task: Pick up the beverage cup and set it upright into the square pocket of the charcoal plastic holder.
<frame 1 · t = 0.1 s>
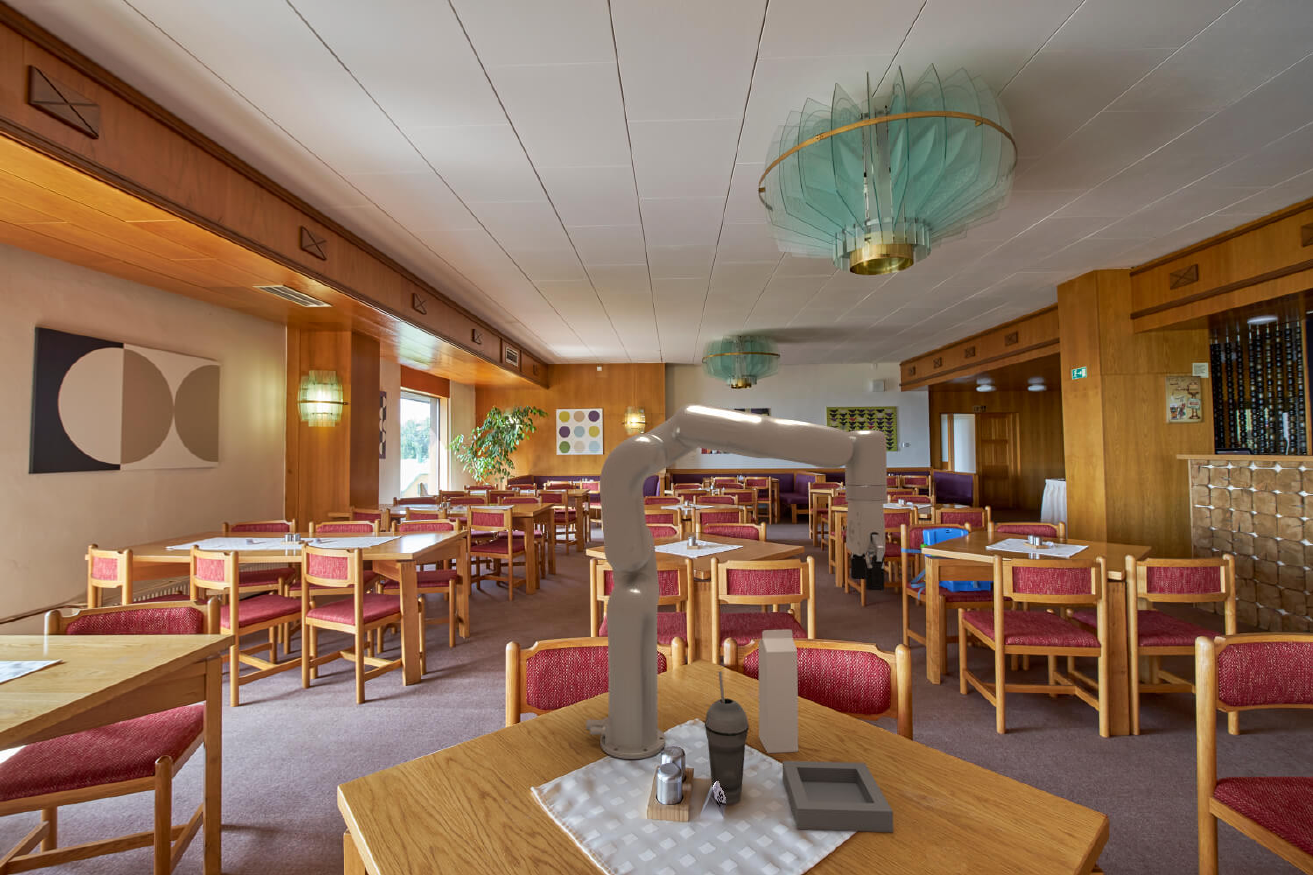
hand: (867, 584, 114), 31 cm above the table, tool pointing down, fingers open, 9 cm apart
holder: (833, 803, 96), on the table
beverage cup: (726, 797, 98), on the table
milk: (778, 746, 115), on the table
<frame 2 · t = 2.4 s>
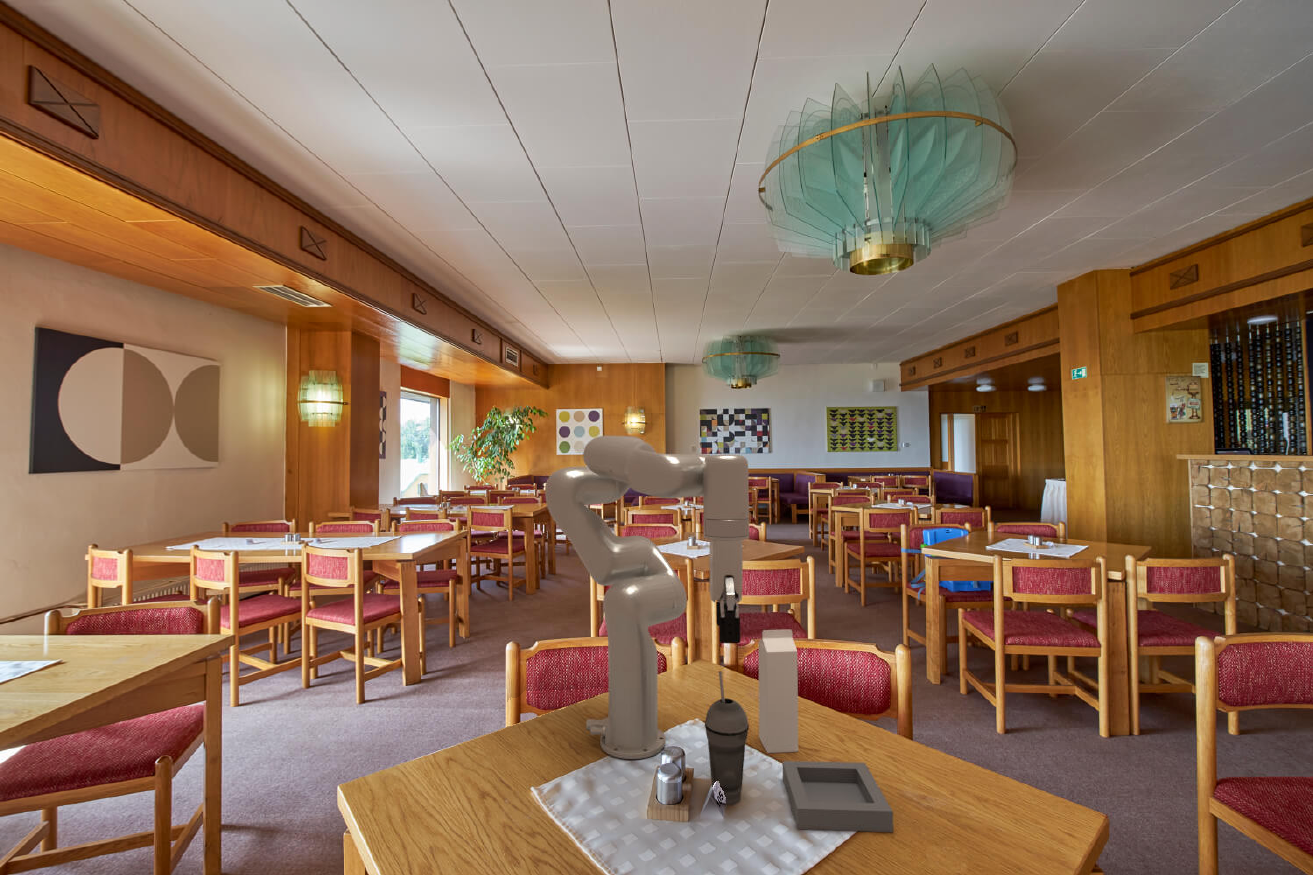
hand: (727, 633, 98), 26 cm above the table, tool pointing down, fingers open, 9 cm apart
nothing on the table moved.
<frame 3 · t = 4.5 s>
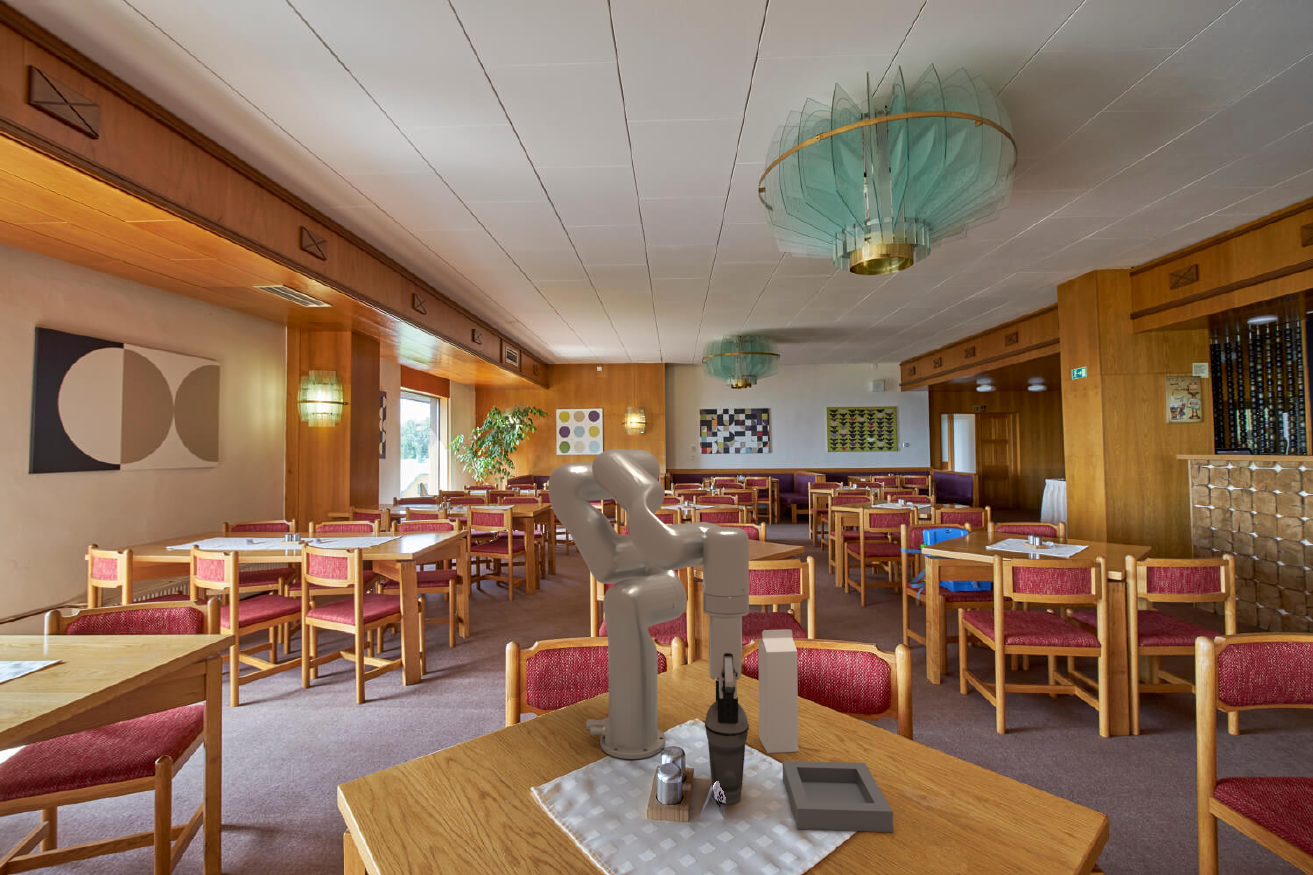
hand: (726, 712, 98), 14 cm above the table, tool pointing down, fingers closed on beverage cup, 6 cm apart
beverage cup: (726, 797, 98), on the table, touching gripper
everything else where it was.
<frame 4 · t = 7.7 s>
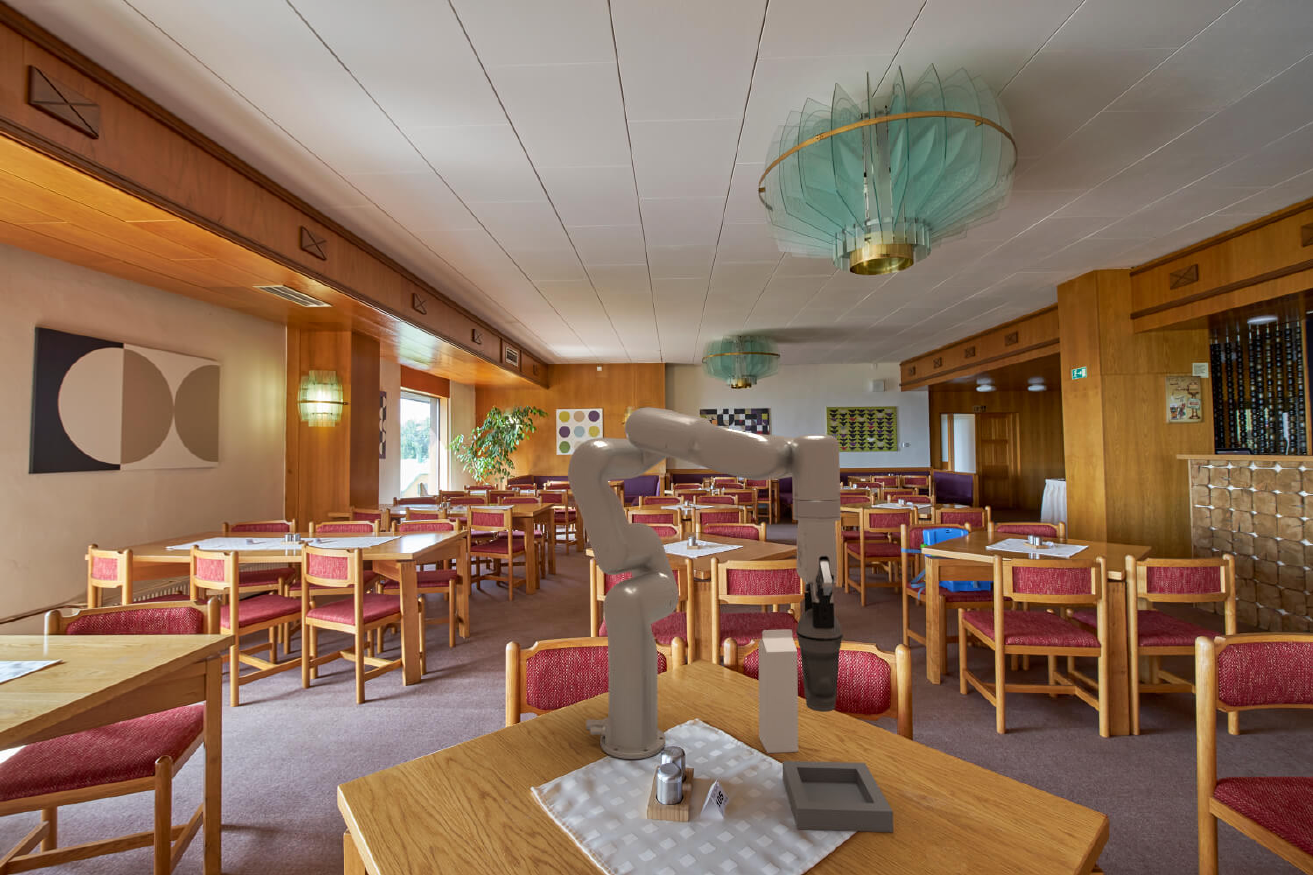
hand: (819, 620, 97), 29 cm above the table, tool pointing down, fingers closed on beverage cup, 6 cm apart
beverage cup: (820, 707, 96), point 15 cm above the table, touching gripper
everything else where it was.
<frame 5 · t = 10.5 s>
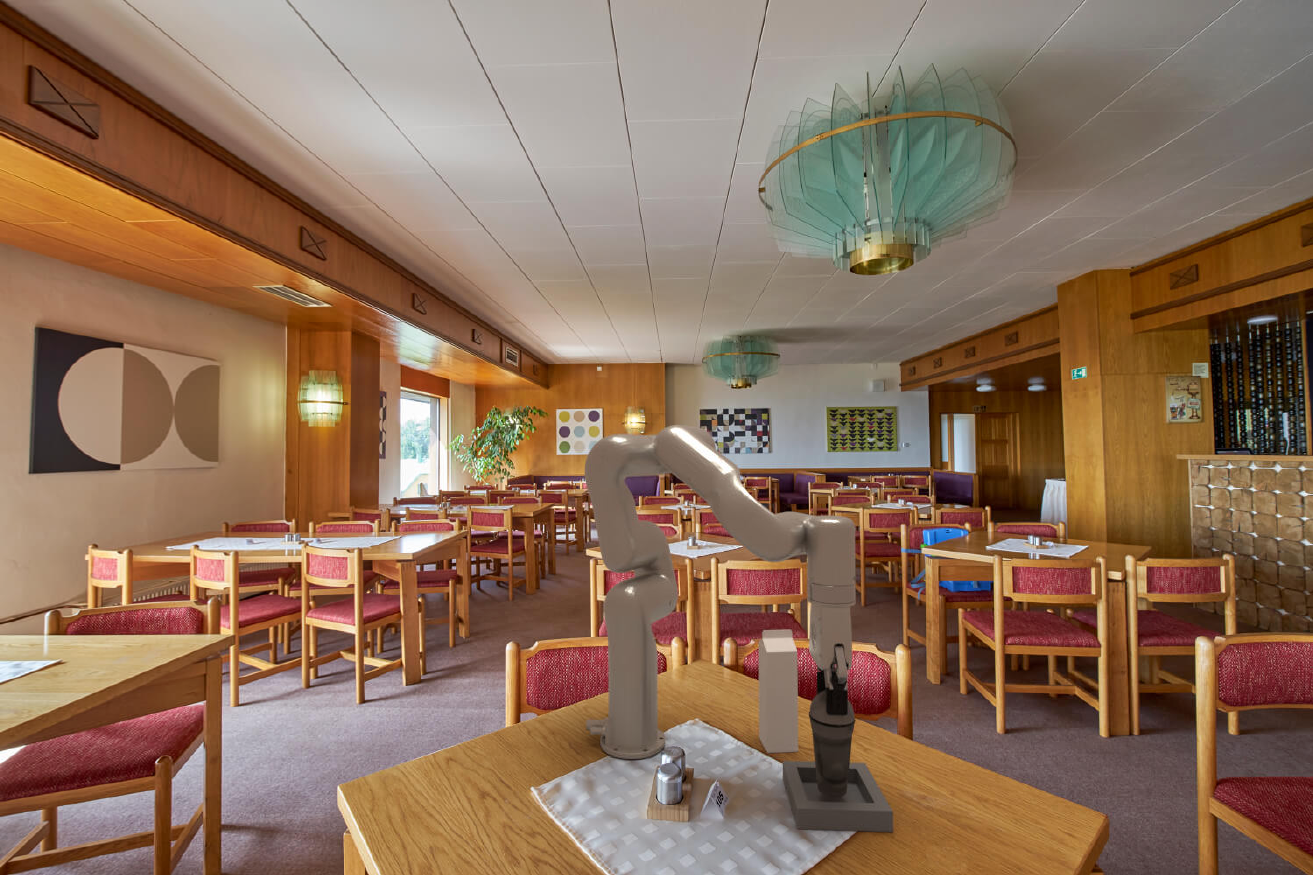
hand: (831, 703, 96), 16 cm above the table, tool pointing down, fingers closed on beverage cup, 6 cm apart
beverage cup: (832, 790, 96), point 2 cm above the table, touching gripper
everything else where it was.
when the fingers open (16 cm above the table, at t = 11.2 s): beverage cup drops 1 cm, resting on holder.
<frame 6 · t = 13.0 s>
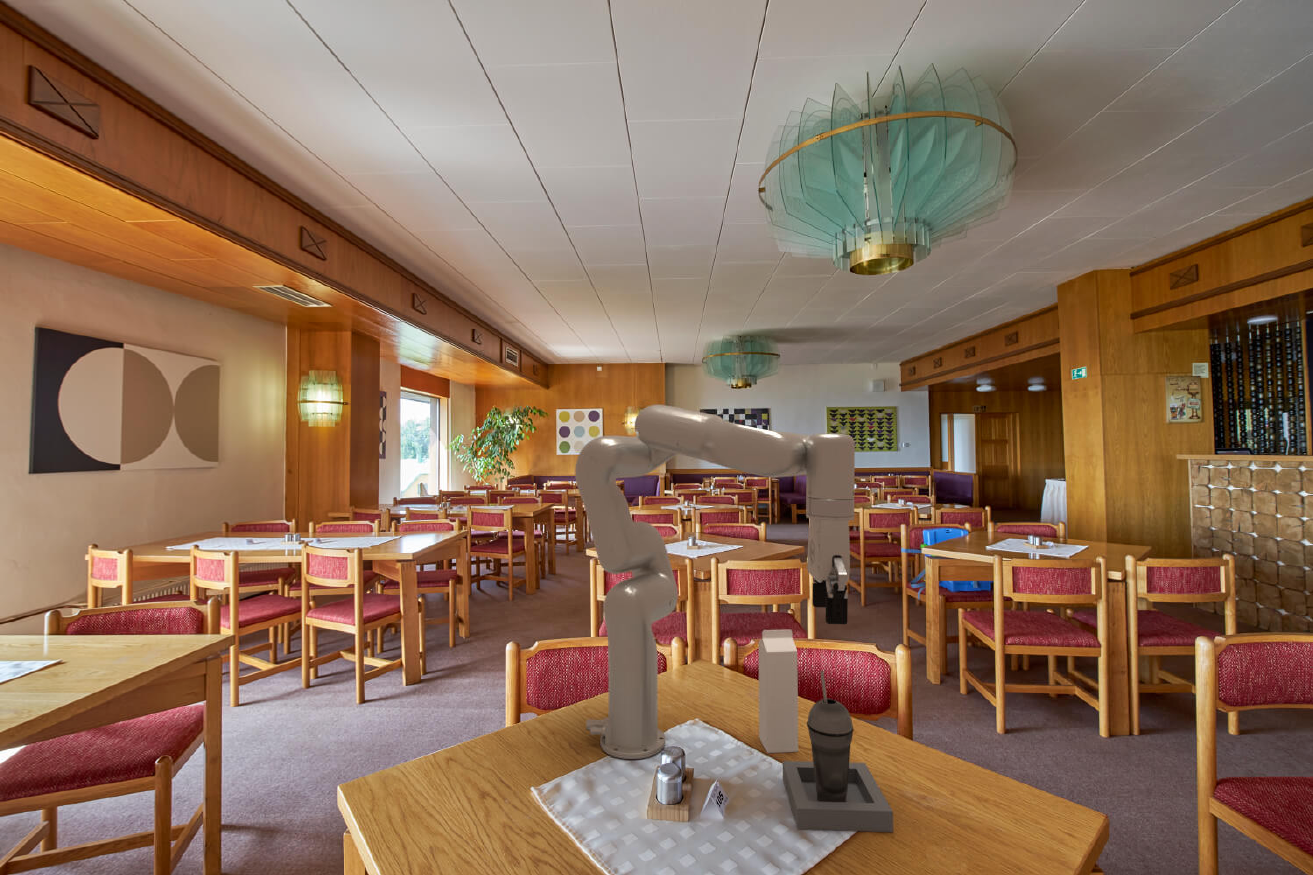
hand: (828, 614, 97), 30 cm above the table, tool pointing down, fingers open, 9 cm apart
beverage cup: (831, 800, 96), resting on holder
everything else where it was.
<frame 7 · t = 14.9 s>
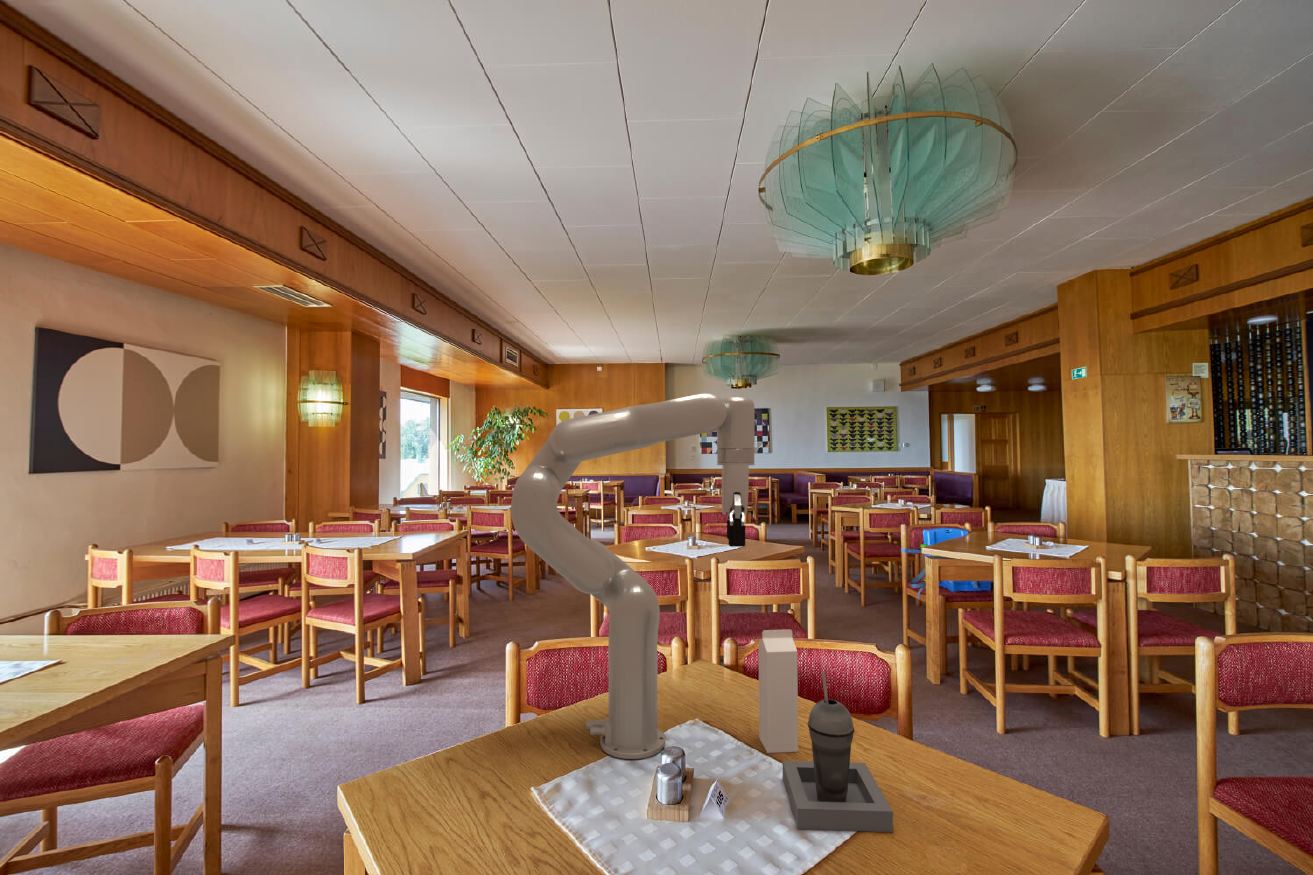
hand: (735, 542, 121), 38 cm above the table, tool pointing down, fingers open, 9 cm apart
nothing on the table moved.
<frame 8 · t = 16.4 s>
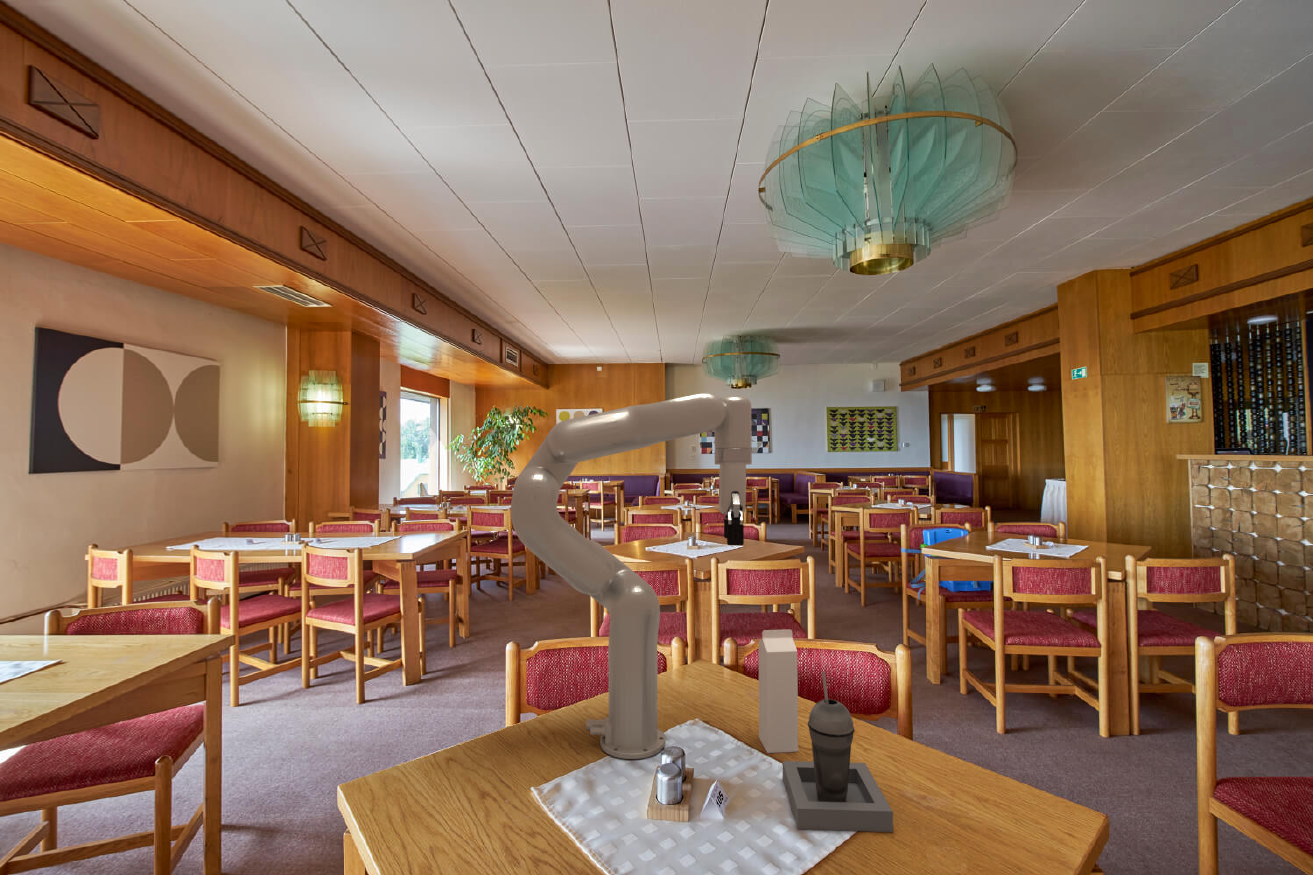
hand: (733, 541, 122), 38 cm above the table, tool pointing down, fingers open, 9 cm apart
nothing on the table moved.
at the end: beverage cup 0.3 cm off-centre on the holder, point 0.4 cm above the holder's base; beverage cup tilted 0°; the gripper is holding nothing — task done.
